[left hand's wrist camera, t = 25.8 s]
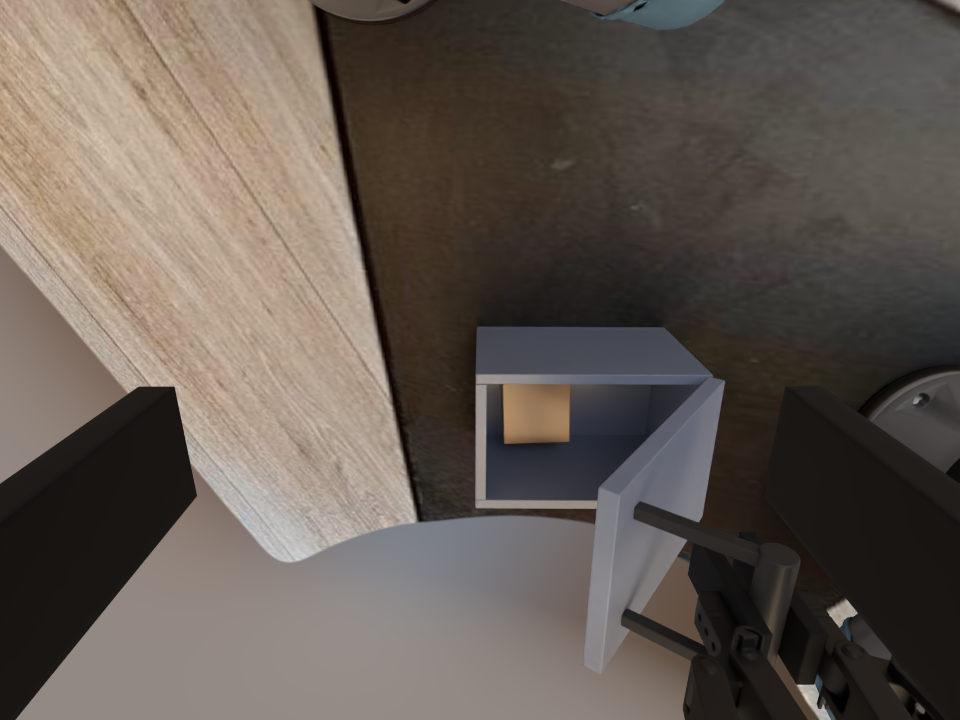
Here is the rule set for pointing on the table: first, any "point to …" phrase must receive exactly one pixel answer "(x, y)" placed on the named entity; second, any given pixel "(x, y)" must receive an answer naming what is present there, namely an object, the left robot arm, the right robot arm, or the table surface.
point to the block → (535, 413)
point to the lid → (670, 536)
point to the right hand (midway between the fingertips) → (720, 554)
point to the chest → (575, 407)
